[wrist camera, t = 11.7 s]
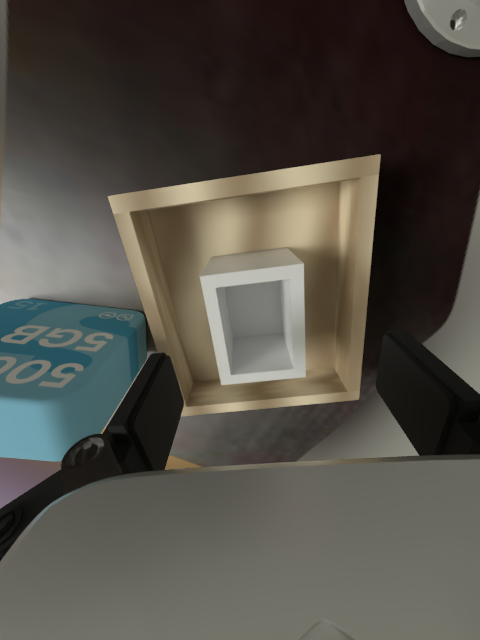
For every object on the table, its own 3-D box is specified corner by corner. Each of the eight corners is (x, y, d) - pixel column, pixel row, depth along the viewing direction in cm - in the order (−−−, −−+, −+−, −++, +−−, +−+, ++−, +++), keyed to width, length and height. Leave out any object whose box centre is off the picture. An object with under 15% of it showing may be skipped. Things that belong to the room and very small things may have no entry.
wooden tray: (349, 165, 18) (380, 154, 14) (340, 368, 26) (358, 399, 21) (136, 198, 19) (107, 196, 15) (188, 383, 27) (178, 416, 22)
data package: (150, 311, 23) (68, 406, 12) (152, 352, 25) (82, 466, 14) (17, 296, 23) (-193, 381, 12) (29, 339, 24) (-142, 447, 14)
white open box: (286, 247, 19) (303, 263, 14) (290, 335, 23) (305, 377, 17) (211, 256, 20) (199, 276, 14) (226, 342, 23) (221, 385, 18)
